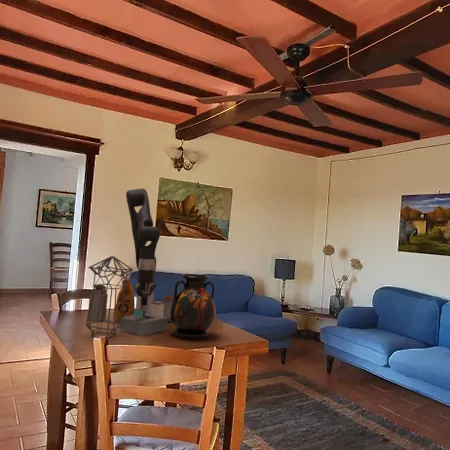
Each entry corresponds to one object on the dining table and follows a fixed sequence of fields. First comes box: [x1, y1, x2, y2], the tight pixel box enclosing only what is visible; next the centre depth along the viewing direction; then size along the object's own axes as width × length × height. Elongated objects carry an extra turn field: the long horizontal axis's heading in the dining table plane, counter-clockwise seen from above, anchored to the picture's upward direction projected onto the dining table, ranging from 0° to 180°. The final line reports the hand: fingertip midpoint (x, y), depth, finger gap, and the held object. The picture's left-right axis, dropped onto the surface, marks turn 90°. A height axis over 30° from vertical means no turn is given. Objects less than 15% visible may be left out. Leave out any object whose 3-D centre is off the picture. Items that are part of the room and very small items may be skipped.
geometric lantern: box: [85, 255, 134, 339], centre depth 177 cm, size 16×16×35 cm
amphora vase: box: [170, 273, 217, 340], centre depth 188 cm, size 22×22×28 cm
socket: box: [119, 313, 168, 337], centre depth 191 cm, size 17×14×6 cm
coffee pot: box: [162, 295, 174, 323], centre depth 218 cm, size 21×12×15 cm, turn 104°
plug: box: [150, 300, 164, 317], centre depth 207 cm, size 5×5×11 cm
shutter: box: [124, 308, 146, 321], centre depth 185 cm, size 6×7×4 cm
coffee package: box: [115, 277, 136, 323], centre depth 207 cm, size 10×12×22 cm
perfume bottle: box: [87, 284, 109, 323], centre depth 205 cm, size 7×7×18 cm
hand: (143, 305), depth 190 cm, fingers closed
